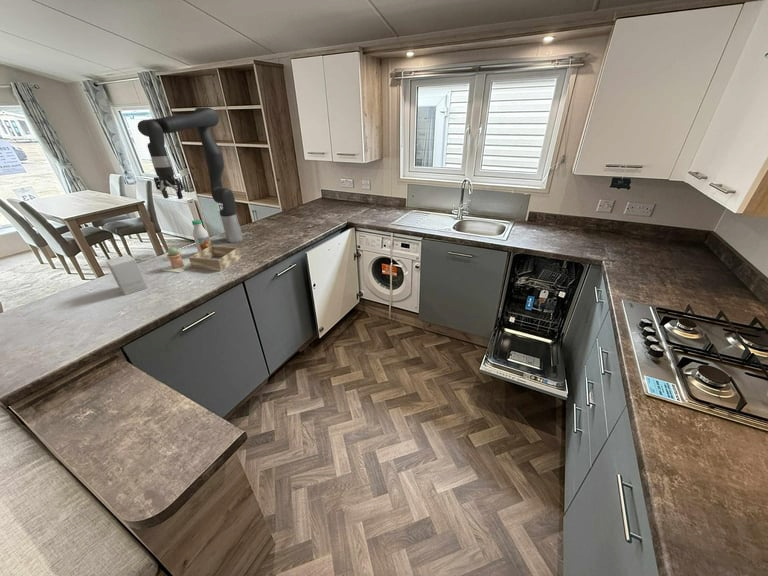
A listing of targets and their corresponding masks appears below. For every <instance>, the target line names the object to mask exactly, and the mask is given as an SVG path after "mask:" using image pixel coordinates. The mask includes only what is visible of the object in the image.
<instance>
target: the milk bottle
mask: <svg viewBox="0 0 768 576" xmlns="http://www.w3.org/2000/svg"><path fill="white" fill-rule="evenodd" d="M191 223H192V226H193V230H192V231H193V233H192V236H193V240H194V242H195V247H196V249H197V253H198V252H200V251H202V250H204V249H206V248H208V247H210V246H213V245H212V242H211V240H210V239H211V237H210V236H209V233H208V231H207V230H206V229H205V228H204V226H203V223H202V219H193V220H191Z"/></svg>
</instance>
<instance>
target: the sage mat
mask: <svg viewBox="0 0 768 576" xmlns="http://www.w3.org/2000/svg"><path fill="white" fill-rule="evenodd" d="M183 264H184V266H183V267H182V268H178V269H173V268H172V265H171V264H170V265H168V266H167V267H164V268H162V269H161V272H168V273H177V274H180V273H182V272H184V271H186V270H188V269H190V268H192V266H191V263H190V262H186V261H183Z"/></svg>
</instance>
